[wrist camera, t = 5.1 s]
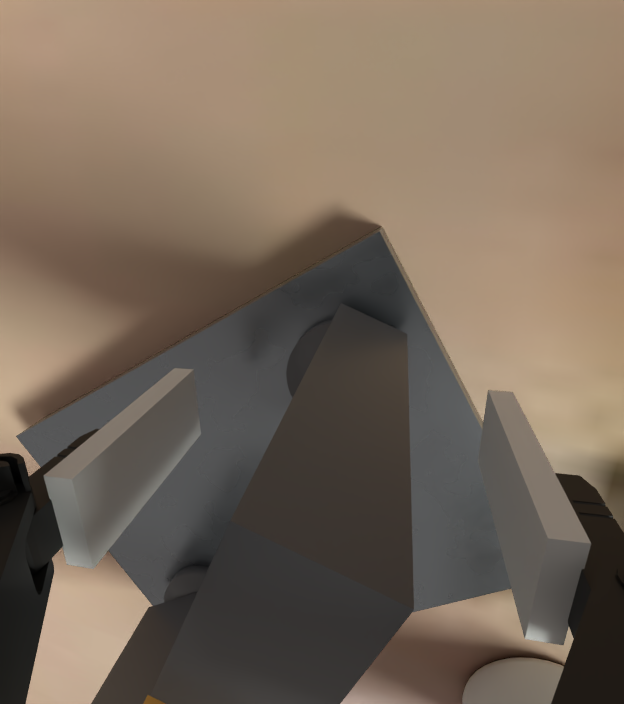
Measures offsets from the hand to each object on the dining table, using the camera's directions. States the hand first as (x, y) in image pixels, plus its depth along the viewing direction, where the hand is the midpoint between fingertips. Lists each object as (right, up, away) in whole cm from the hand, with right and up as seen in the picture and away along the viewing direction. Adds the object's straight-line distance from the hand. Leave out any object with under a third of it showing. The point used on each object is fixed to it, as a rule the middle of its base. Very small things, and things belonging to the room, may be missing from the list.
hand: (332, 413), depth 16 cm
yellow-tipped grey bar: (+1, +1, +3) cm, 4 cm away
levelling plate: (-3, -5, +9) cm, 10 cm away
